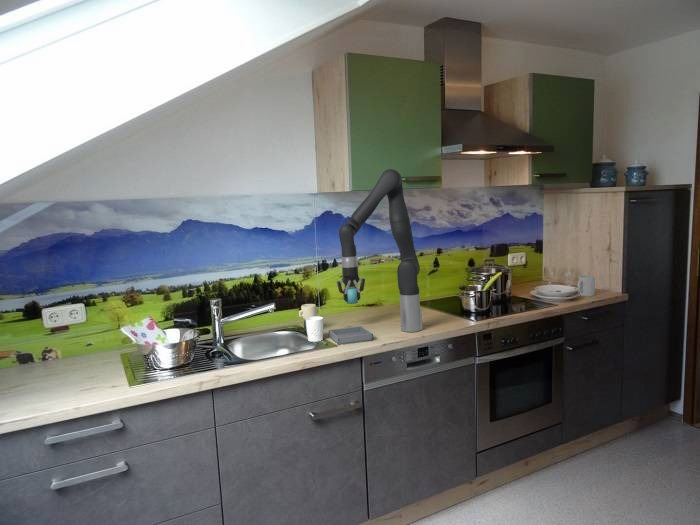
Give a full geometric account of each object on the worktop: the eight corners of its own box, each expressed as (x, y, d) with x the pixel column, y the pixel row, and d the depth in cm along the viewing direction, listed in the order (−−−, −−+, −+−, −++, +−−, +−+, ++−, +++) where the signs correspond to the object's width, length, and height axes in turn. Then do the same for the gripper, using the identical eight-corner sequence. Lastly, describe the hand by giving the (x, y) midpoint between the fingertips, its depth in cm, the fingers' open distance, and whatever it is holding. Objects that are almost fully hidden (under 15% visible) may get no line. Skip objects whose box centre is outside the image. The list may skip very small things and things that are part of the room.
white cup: (326, 337, 231) (325, 316, 230) (321, 342, 224) (319, 320, 223) (310, 337, 233) (309, 316, 232) (304, 342, 226) (302, 320, 225)
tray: (361, 332, 238) (361, 326, 238) (373, 340, 223) (372, 333, 222) (328, 336, 233) (328, 330, 233) (338, 345, 218) (337, 338, 218)
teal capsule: (355, 301, 246) (354, 287, 245) (359, 303, 241) (358, 288, 240) (345, 302, 244) (344, 288, 243) (348, 304, 239) (347, 289, 239)
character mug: (315, 328, 250) (314, 302, 249) (323, 330, 245) (322, 304, 243) (296, 332, 244) (294, 306, 242) (304, 335, 238) (302, 308, 237)
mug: (584, 293, 303) (584, 275, 302) (597, 294, 296) (597, 276, 295) (571, 295, 297) (571, 277, 296) (584, 297, 290) (584, 278, 289)
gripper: (361, 263, 246) (363, 298, 248) (333, 266, 242) (335, 301, 244) (366, 265, 239) (368, 300, 241) (337, 268, 235) (339, 304, 237)
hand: (352, 300), depth 242 cm, fingers closed on teal capsule, 5 cm apart
